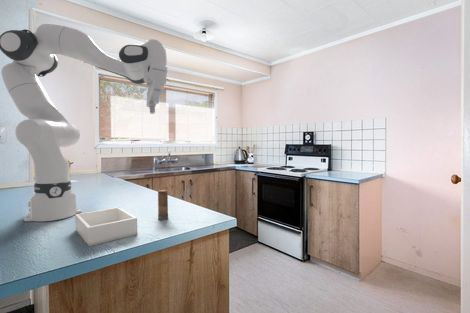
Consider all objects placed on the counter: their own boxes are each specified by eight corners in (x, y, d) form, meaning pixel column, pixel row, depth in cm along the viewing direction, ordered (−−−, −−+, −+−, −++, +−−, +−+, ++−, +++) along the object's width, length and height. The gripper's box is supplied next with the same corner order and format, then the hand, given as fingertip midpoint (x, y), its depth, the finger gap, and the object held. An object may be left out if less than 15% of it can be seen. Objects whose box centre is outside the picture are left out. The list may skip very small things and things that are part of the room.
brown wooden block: (160, 217, 99) (159, 190, 98) (169, 217, 99) (169, 190, 98) (156, 220, 95) (156, 191, 94) (166, 220, 95) (166, 192, 94)
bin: (75, 230, 84) (75, 214, 83) (119, 221, 93) (118, 207, 93) (88, 246, 70) (88, 227, 70) (137, 234, 80) (137, 217, 80)
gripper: (143, 88, 108) (142, 117, 104) (151, 60, 90) (149, 94, 87) (158, 91, 110) (157, 119, 107) (168, 64, 93) (168, 97, 89)
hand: (154, 108), depth 97 cm, fingers open, 8 cm apart
